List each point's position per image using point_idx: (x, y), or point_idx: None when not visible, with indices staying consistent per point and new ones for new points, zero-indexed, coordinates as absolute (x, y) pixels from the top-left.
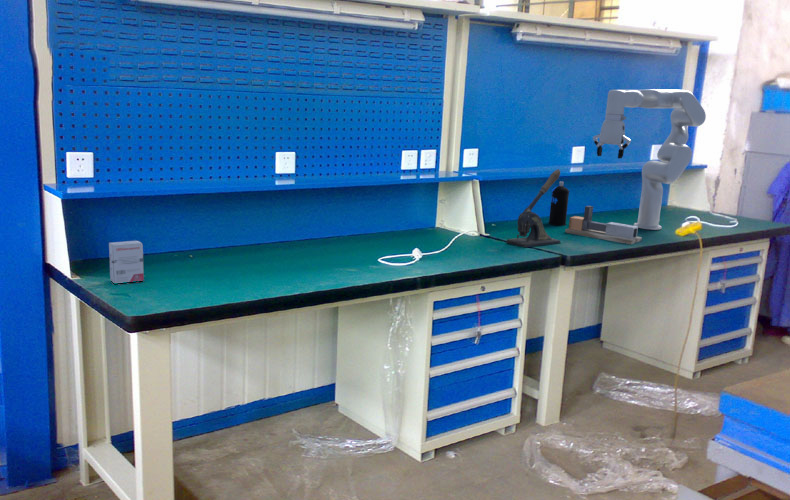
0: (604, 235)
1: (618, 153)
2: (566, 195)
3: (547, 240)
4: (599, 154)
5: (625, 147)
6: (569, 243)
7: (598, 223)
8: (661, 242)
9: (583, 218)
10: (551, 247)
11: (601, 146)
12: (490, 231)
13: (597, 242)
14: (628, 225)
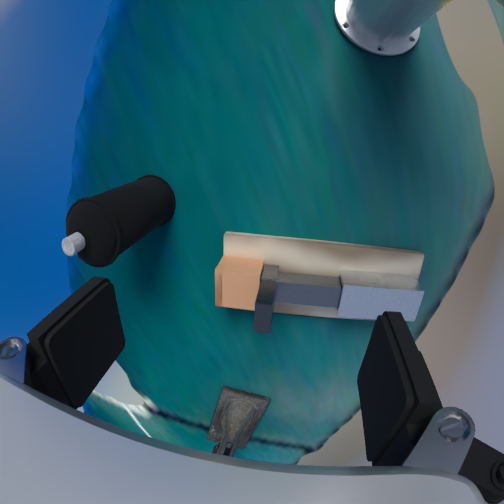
0: (335, 309)
1: (364, 420)
2: (125, 240)
3: (254, 418)
4: (116, 344)
5: (468, 460)
6: (284, 391)
7: (308, 302)
8: (463, 231)
9: (252, 293)
10: (272, 426)
11: (42, 369)
12: (133, 380)
13: (331, 350)
14: (399, 298)
